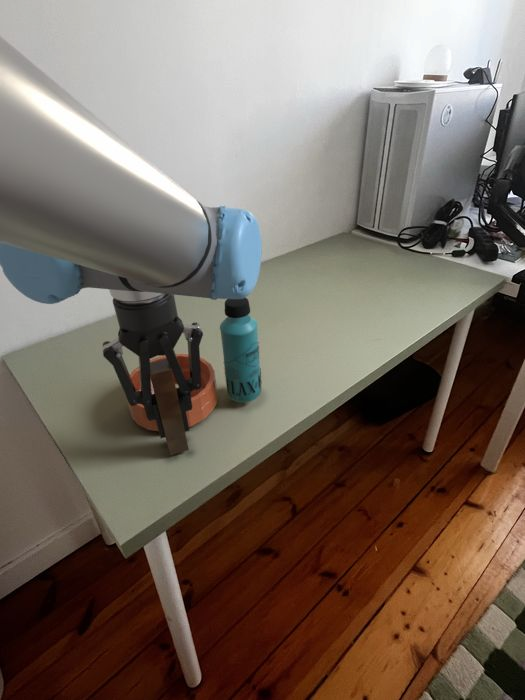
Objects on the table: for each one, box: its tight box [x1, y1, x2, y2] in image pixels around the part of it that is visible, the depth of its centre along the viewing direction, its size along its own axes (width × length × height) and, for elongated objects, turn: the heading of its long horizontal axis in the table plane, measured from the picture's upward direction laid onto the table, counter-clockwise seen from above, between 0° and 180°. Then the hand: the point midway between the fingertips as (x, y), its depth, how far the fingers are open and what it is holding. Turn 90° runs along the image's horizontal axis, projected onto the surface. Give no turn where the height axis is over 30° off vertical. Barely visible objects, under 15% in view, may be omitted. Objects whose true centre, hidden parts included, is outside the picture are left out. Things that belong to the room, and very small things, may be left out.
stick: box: [150, 359, 190, 456], centre depth 65 cm, size 3×3×16 cm
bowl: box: [124, 353, 219, 432], centre depth 77 cm, size 16×16×6 cm
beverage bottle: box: [219, 297, 263, 403], centre depth 74 cm, size 6×7×20 cm
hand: (173, 428), depth 67 cm, fingers closed on stick, 3 cm apart
